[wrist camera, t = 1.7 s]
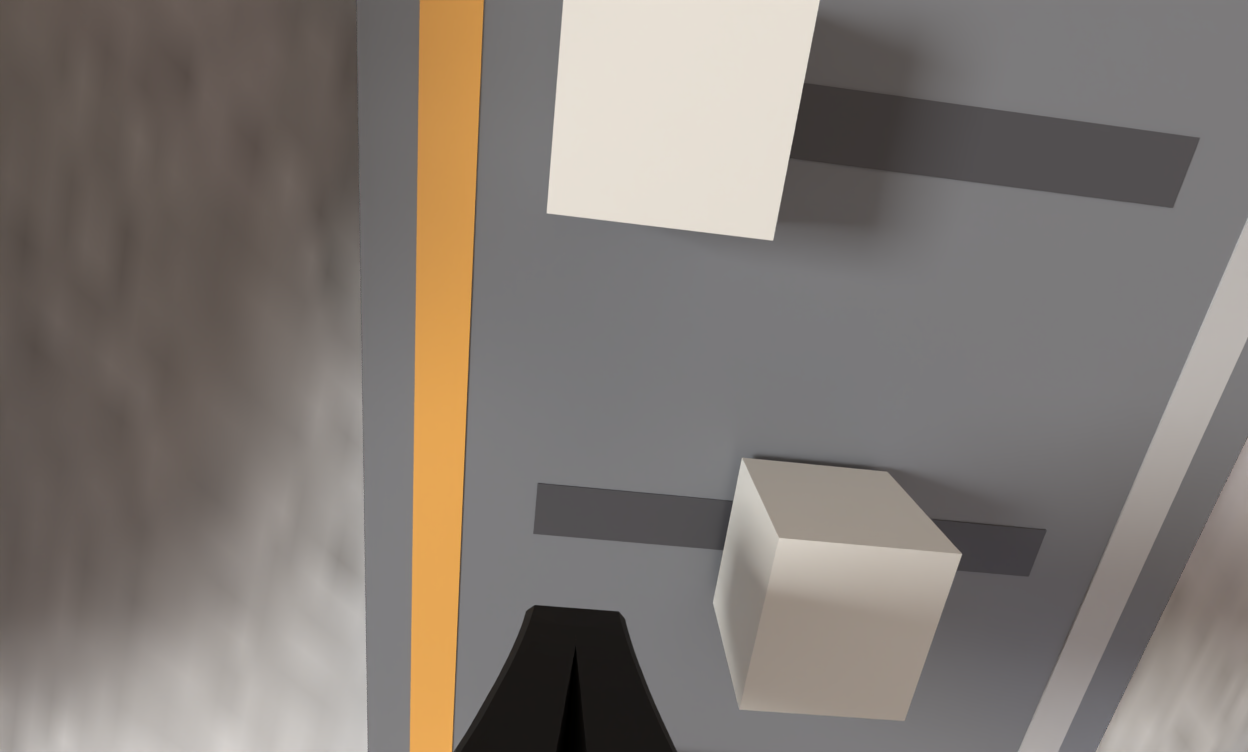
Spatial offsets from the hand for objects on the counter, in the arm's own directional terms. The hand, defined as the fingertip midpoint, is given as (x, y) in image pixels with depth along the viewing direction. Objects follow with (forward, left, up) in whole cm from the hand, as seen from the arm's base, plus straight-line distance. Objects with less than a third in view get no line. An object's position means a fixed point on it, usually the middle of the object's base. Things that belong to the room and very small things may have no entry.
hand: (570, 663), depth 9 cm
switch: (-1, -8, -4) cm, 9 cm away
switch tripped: (-5, 0, -4) cm, 6 cm away
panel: (-5, 0, -6) cm, 7 cm away
